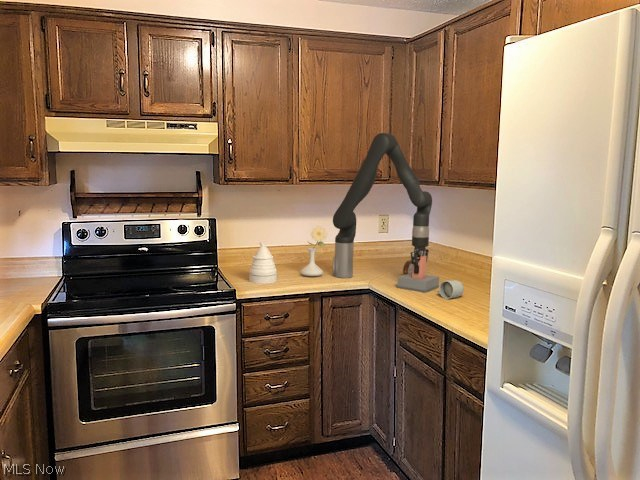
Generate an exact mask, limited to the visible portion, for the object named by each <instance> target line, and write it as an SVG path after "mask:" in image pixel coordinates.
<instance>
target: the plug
mask: <svg viewBox="0 0 640 480" xmlns="http://www.w3.org/2000/svg"><path fill="white" fill-rule="evenodd" d="M417 259H419V258H418V257H417ZM417 261H418V260H417ZM426 273H427V262H426V256H422V257H421V261H420V264H419V274H415V273H414V265H413V269H412V277H413V278H419V279H423V278H426V275H427V274H426Z"/></svg>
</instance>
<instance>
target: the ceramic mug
mask: <svg viewBox="0 0 640 480" xmlns="http://www.w3.org/2000/svg"><path fill="white" fill-rule="evenodd" d="M438 288H439V290H437V294H438V295H440V296H441V297H442V298H443V299H445V300H449V299H454V298H459V297H461V296H462V295H463V294H464V291H465V287H464V284H463V283H462V282H461V281H460V280H455V279H454V280H444V281H442V282H441V283H439V287H438Z"/></svg>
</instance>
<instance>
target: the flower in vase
mask: <svg viewBox="0 0 640 480" xmlns="http://www.w3.org/2000/svg"><path fill="white" fill-rule="evenodd" d="M310 232H311V233H310V236H311V238H312V240H314V241H315V245H314V243H311V242H309V241H307V243H308V244H309V245H312V246H313V247H307V248H306V249H307V251H308V253H309V263H308V264H307V265H306V266H304V267H303V268H302V269H301V270H300V275H303V276H306V277H319V276H322V275H323V274H324V270H323V269H322V268H320V267H319V266H318V265H317V264H316V261H315V257H316V256H315V255H316V252H317V250H318V248H316V246H317V245H318V246H319V247H324V246H326V243H324V242H323V241H325V240H326V237H327V236H328V233H327V230H326V228H324V227H322V226H315V227H314V228H312V229H311V231H310Z"/></svg>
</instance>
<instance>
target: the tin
mask: <svg viewBox="0 0 640 480" xmlns="http://www.w3.org/2000/svg"><path fill="white" fill-rule="evenodd" d="M402 268H403V269H402V273H403V274H402V275H406V274H409V273H412V269H413V264H412V262H411V259H409V260H407V261H406V262H405V263H404V265H403V267H402Z"/></svg>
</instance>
